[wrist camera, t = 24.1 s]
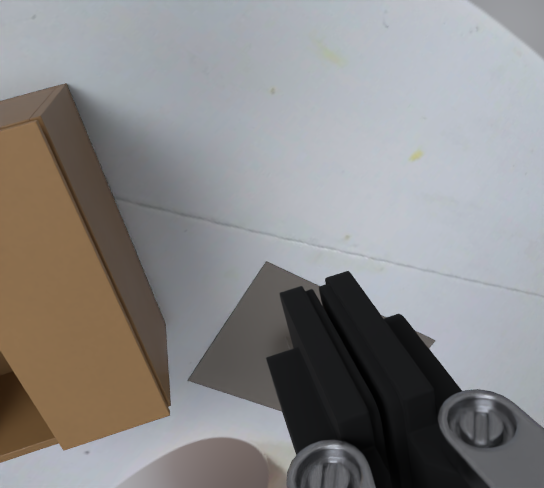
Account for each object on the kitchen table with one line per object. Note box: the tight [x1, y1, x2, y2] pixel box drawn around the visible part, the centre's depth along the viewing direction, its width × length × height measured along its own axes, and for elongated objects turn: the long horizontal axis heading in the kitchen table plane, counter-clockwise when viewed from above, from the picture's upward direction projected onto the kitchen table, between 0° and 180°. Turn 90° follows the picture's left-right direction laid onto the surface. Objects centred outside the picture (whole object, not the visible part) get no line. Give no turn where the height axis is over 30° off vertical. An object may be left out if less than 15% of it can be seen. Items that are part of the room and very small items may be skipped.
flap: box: [0, 120, 170, 450], centre depth 26 cm, size 18×6×1 cm, turn 13°
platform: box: [188, 262, 435, 411], centre depth 40 cm, size 12×18×7 cm, turn 57°
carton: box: [0, 83, 171, 463], centre depth 30 cm, size 18×13×8 cm
